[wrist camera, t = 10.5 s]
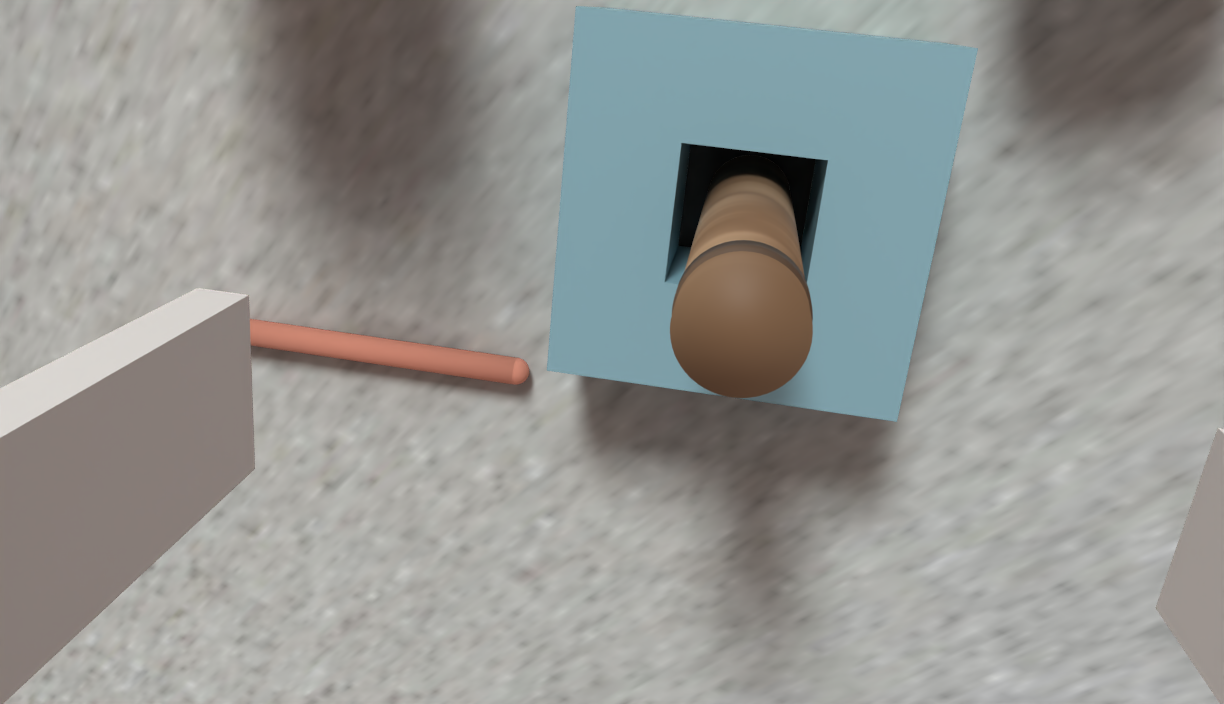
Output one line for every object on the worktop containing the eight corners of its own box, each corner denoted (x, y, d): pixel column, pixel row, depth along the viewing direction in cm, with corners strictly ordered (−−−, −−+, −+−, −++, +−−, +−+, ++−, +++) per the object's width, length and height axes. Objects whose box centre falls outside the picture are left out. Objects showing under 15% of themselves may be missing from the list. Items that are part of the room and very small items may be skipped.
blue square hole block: (575, 323, 36) (546, 370, 31) (603, 7, 32) (575, 6, 27) (879, 366, 34) (896, 421, 30) (945, 43, 31) (978, 48, 26)
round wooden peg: (701, 232, 34) (659, 389, 20) (712, 148, 33) (676, 251, 19) (784, 242, 33) (802, 410, 19) (798, 158, 32) (827, 271, 18)
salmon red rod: (232, 336, 38) (218, 344, 37) (231, 312, 37) (217, 319, 37) (531, 380, 37) (524, 390, 36) (532, 356, 36) (526, 364, 35)
